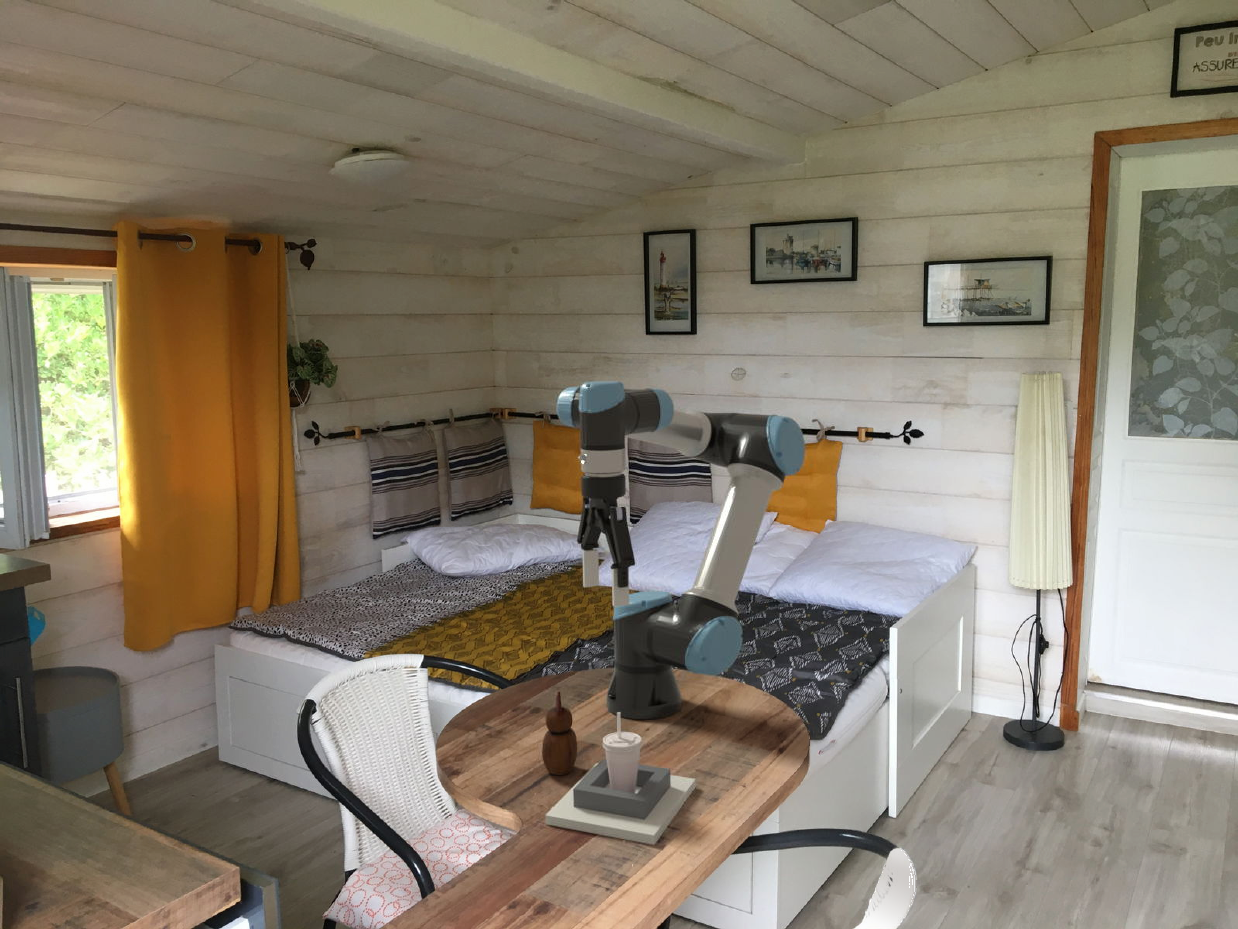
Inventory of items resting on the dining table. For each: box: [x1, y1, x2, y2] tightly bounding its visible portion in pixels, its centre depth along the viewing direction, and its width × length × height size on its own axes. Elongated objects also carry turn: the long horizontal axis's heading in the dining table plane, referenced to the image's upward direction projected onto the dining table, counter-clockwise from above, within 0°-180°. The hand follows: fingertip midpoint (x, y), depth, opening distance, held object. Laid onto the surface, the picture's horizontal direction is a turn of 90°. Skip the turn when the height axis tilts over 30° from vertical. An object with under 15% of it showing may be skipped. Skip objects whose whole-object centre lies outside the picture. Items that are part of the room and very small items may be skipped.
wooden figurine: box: [541, 691, 578, 776], centre depth 177 cm, size 7×6×15 cm
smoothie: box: [602, 712, 643, 793], centre depth 164 cm, size 6×6×14 cm
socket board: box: [545, 757, 697, 846], centre depth 165 cm, size 20×18×4 cm
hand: (605, 595), depth 176 cm, fingers open, 13 cm apart
